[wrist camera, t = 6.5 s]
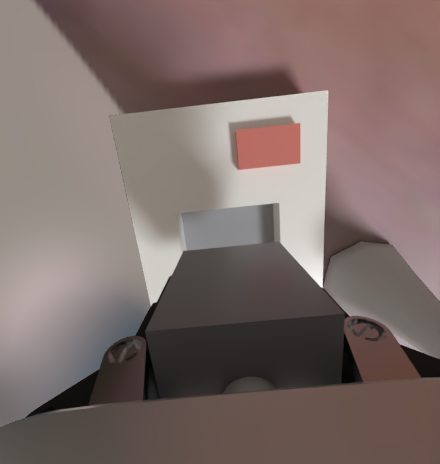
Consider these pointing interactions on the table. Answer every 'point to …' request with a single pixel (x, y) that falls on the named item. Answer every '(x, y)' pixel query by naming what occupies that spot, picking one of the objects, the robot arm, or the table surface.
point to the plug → (243, 324)
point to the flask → (385, 293)
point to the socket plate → (225, 179)
